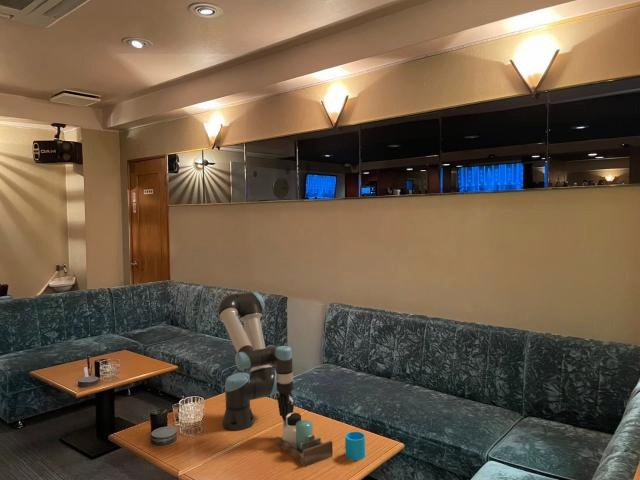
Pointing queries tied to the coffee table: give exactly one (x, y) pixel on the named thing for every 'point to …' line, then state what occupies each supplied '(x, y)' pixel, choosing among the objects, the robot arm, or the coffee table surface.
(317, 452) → the frame
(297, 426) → the capsule
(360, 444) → the mug
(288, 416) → the container
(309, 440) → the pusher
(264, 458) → the coffee table surface
